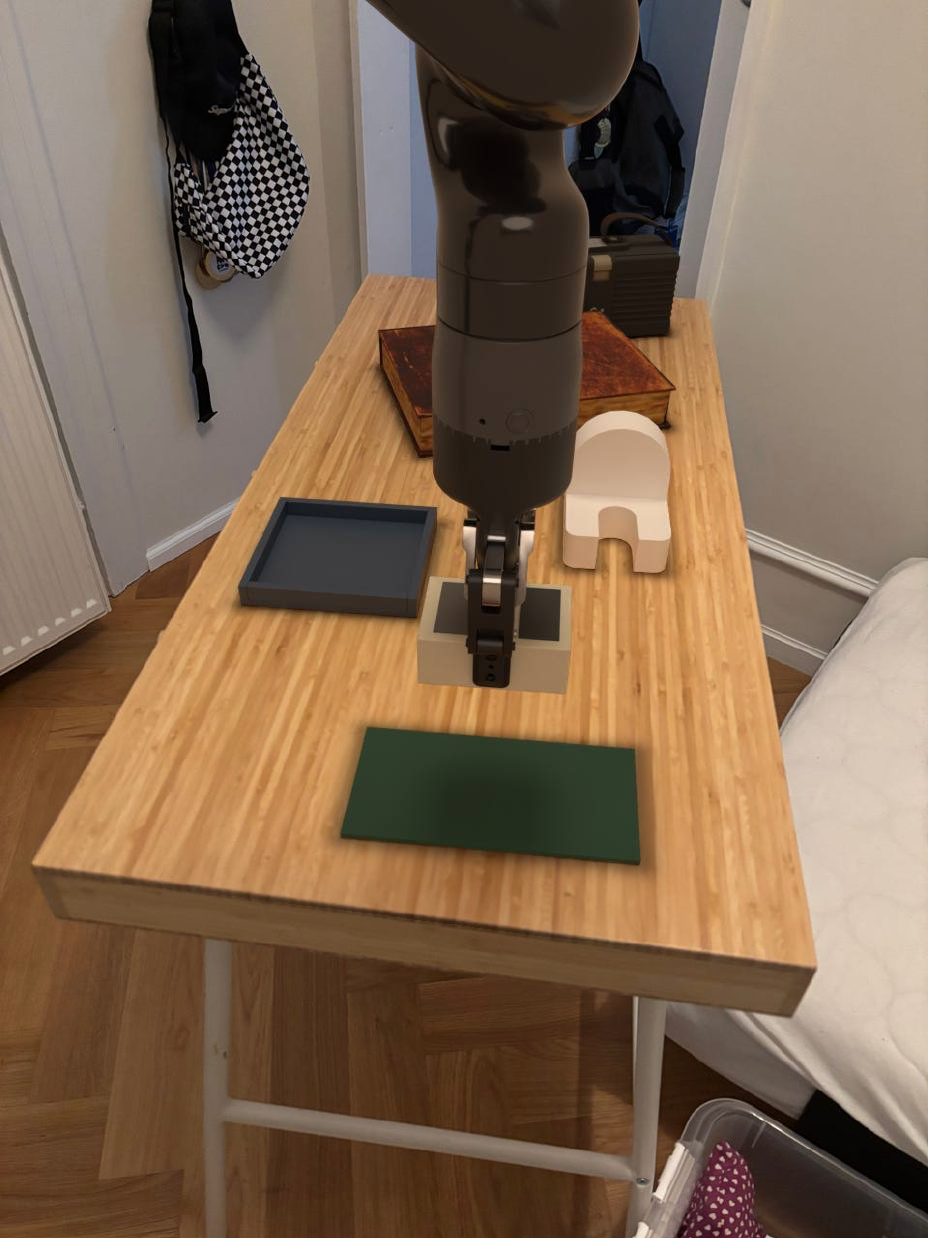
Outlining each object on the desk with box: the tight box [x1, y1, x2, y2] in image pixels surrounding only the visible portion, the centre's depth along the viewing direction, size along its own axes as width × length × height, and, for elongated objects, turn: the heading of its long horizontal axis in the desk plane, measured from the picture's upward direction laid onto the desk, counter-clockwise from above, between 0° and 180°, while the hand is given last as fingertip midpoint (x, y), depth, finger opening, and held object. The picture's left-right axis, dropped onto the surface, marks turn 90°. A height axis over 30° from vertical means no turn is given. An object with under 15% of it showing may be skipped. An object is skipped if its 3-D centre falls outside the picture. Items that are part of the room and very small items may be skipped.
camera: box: [583, 211, 681, 338], centre depth 127 cm, size 11×14×15 cm
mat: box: [339, 726, 641, 865], centre depth 66 cm, size 20×10×1 cm, turn 84°
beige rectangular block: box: [416, 575, 573, 695], centre depth 58 cm, size 9×6×4 cm
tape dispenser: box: [562, 411, 672, 574], centre depth 90 cm, size 10×18×11 cm, turn 175°
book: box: [377, 310, 677, 459], centre depth 113 cm, size 30×24×5 cm
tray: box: [237, 496, 438, 618], centre depth 87 cm, size 16×15×2 cm
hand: (495, 645), depth 58 cm, fingers closed on beige rectangular block, 6 cm apart
